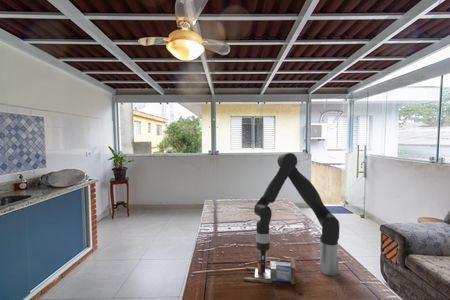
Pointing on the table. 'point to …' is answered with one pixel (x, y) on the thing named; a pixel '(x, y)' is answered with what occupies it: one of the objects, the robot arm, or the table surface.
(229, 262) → the table surface
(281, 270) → the medicine box
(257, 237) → the robot arm
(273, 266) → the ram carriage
